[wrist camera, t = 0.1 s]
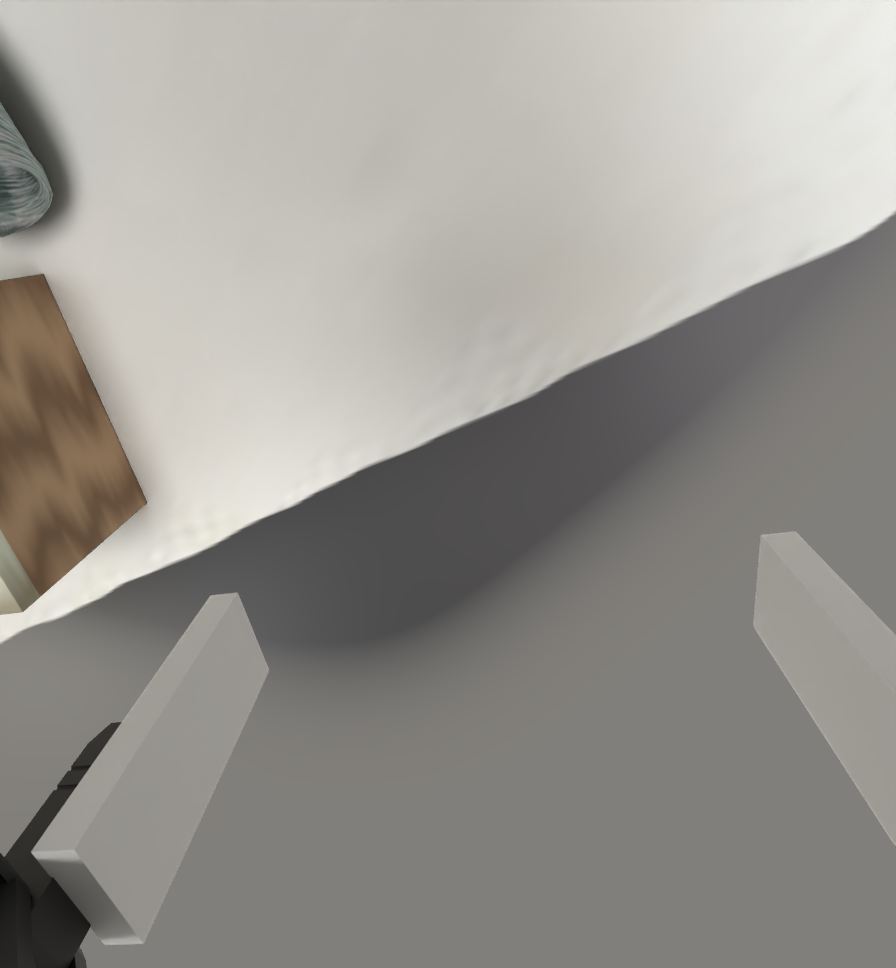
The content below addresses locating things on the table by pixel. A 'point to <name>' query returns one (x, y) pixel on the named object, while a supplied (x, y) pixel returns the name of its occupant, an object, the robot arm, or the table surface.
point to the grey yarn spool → (19, 181)
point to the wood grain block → (51, 450)
